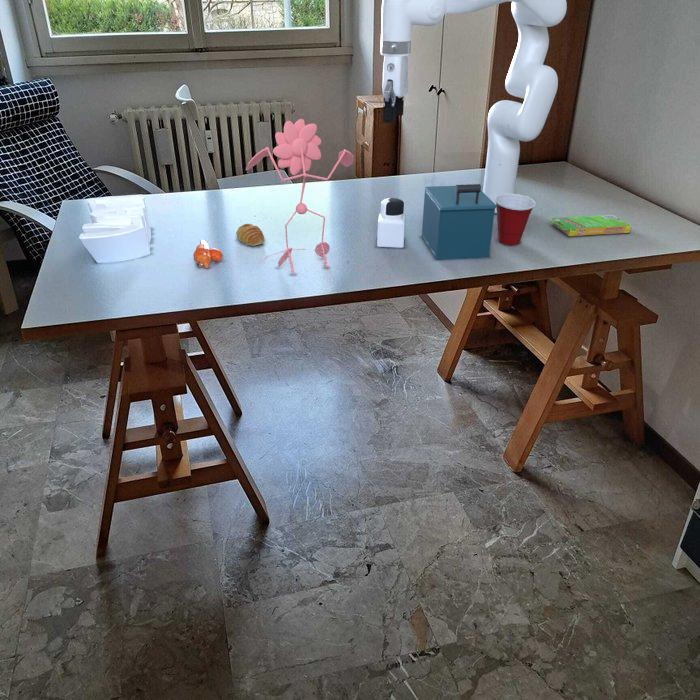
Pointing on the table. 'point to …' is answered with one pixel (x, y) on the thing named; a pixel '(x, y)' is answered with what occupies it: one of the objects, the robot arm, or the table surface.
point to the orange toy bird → (206, 254)
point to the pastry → (250, 235)
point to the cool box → (456, 231)
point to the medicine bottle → (391, 224)
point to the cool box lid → (460, 197)
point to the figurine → (297, 154)
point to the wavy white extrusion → (117, 228)
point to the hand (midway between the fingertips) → (393, 118)
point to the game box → (591, 225)
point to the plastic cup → (512, 217)
